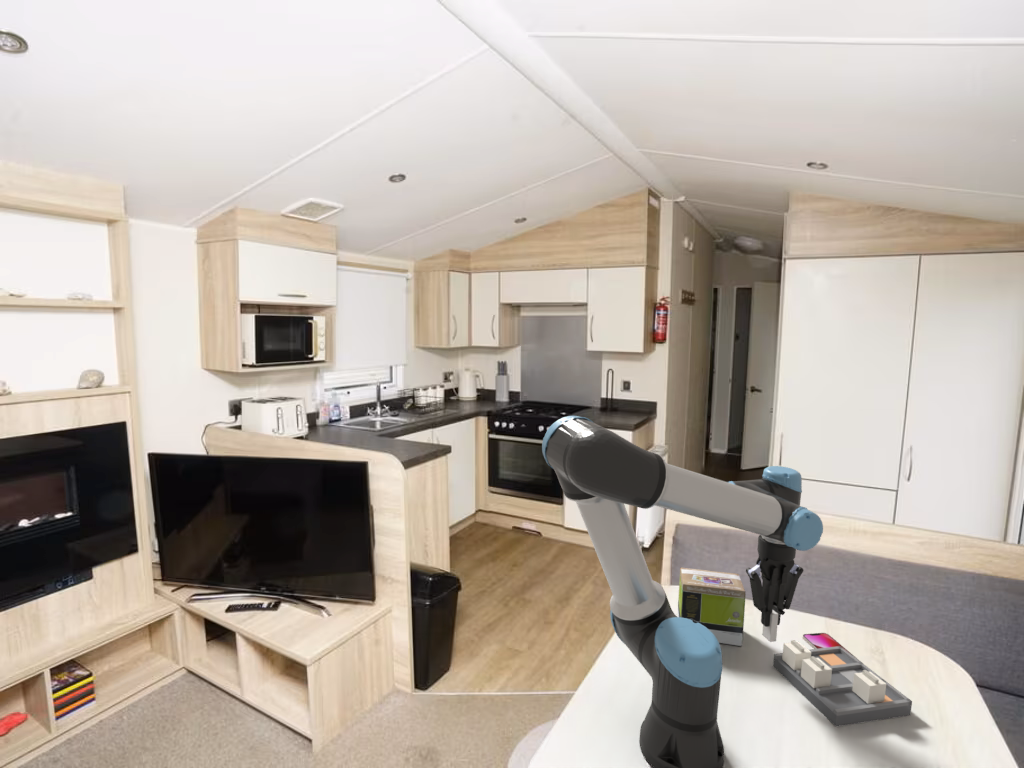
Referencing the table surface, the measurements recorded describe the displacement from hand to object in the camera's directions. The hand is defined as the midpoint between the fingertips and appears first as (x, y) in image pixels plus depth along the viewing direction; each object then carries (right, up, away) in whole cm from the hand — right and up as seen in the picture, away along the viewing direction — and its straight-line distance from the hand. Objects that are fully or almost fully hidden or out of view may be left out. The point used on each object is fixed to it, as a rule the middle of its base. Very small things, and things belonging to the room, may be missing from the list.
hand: (769, 637), depth 123 cm
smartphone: (+21, -10, +11) cm, 26 cm away
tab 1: (+7, -7, +3) cm, 11 cm away
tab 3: (+17, -9, -7) cm, 21 cm away
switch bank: (+14, -11, -2) cm, 18 cm away
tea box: (-7, -7, +19) cm, 22 cm away
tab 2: (+8, -8, -3) cm, 12 cm away
